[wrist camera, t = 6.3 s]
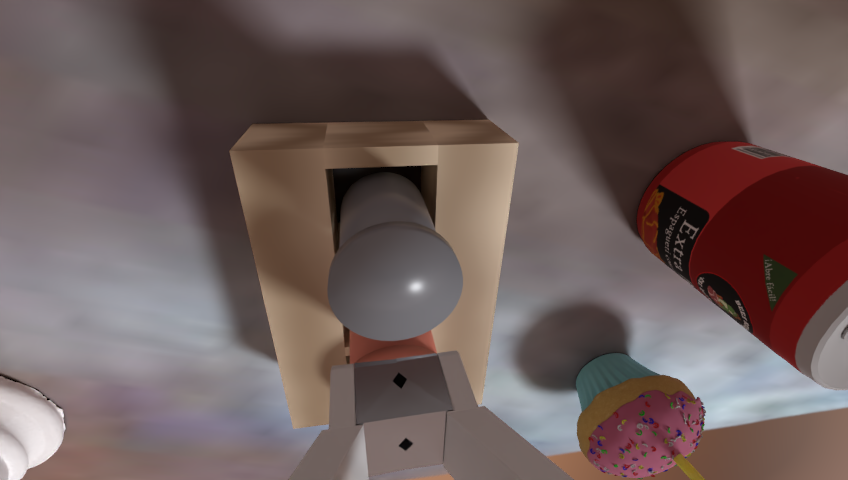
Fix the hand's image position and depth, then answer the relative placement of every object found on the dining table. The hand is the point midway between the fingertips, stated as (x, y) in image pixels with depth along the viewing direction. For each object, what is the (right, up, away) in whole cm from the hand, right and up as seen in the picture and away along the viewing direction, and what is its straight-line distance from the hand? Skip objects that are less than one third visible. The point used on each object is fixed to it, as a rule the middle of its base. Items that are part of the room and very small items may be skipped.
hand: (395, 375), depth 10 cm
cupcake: (+15, -7, +22) cm, 27 cm away
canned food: (+17, +6, +15) cm, 23 cm away
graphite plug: (-1, +5, +7) cm, 9 cm away
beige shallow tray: (-2, +2, +13) cm, 13 cm away
